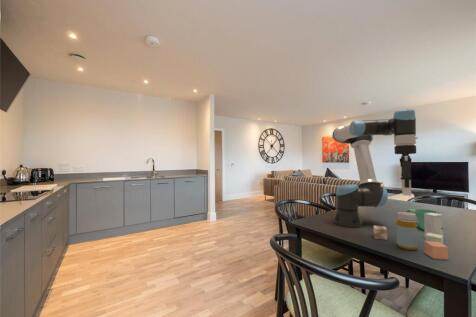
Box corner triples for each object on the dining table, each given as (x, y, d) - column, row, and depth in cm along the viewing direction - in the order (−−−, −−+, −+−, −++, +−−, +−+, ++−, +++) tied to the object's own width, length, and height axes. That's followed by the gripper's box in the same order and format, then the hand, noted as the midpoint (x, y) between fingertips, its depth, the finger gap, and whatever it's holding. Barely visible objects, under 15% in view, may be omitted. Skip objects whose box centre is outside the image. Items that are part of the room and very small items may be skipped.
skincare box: (434, 241, 98) (433, 215, 98) (423, 237, 102) (423, 213, 102) (444, 239, 99) (443, 214, 99) (433, 236, 104) (433, 212, 104)
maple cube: (374, 238, 103) (374, 228, 103) (373, 235, 107) (373, 225, 107) (387, 240, 100) (387, 229, 101) (385, 236, 105) (385, 226, 105)
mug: (443, 231, 110) (443, 212, 110) (432, 234, 107) (432, 214, 107) (412, 223, 124) (412, 206, 124) (401, 225, 121) (401, 208, 121)
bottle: (392, 244, 95) (392, 211, 95) (407, 243, 96) (406, 211, 96) (406, 251, 88) (405, 215, 88) (421, 250, 89) (420, 215, 89)
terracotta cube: (433, 258, 82) (433, 246, 82) (424, 253, 87) (424, 241, 87) (448, 259, 81) (448, 247, 81) (438, 254, 86) (438, 241, 86)
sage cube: (425, 246, 93) (425, 235, 93) (428, 243, 96) (428, 232, 96) (441, 250, 89) (441, 238, 89) (443, 246, 92) (443, 235, 92)
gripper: (418, 142, 80) (420, 198, 80) (413, 146, 100) (414, 190, 100) (394, 144, 84) (395, 196, 84) (394, 146, 104) (395, 189, 104)
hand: (406, 193), depth 92 cm, fingers open, 13 cm apart
